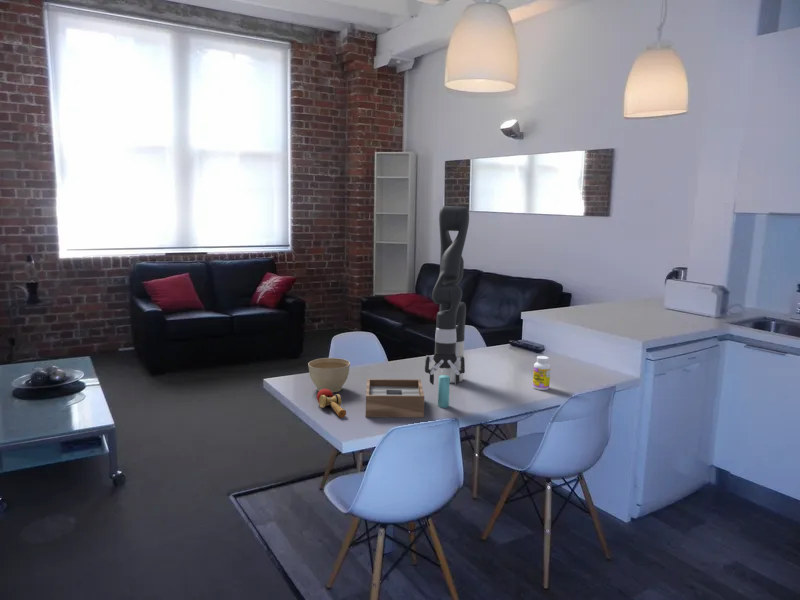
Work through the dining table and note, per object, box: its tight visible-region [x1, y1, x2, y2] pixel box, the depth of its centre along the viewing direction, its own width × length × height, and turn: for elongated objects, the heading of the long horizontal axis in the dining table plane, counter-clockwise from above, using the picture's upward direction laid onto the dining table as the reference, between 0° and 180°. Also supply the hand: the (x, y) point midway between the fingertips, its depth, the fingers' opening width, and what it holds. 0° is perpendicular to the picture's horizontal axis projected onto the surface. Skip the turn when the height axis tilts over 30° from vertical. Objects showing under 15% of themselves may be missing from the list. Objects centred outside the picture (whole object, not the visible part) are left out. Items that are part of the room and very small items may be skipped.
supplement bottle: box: [532, 355, 552, 391], centre depth 241 cm, size 7×7×13 cm
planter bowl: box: [307, 357, 351, 394], centre depth 233 cm, size 16×16×11 cm
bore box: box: [365, 378, 425, 418], centre depth 215 cm, size 20×20×8 cm
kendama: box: [316, 389, 347, 419], centre depth 211 cm, size 8×6×18 cm
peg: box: [437, 374, 450, 409], centre depth 217 cm, size 4×4×11 cm
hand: (444, 384), depth 216 cm, fingers open, 8 cm apart
